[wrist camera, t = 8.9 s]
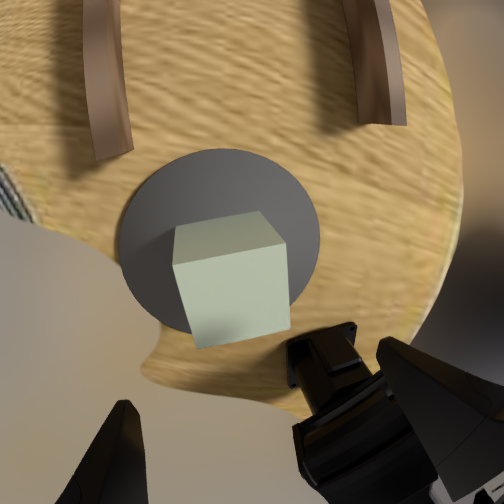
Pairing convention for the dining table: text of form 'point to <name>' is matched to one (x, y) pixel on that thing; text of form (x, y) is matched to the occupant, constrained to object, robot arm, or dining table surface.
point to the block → (232, 278)
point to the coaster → (206, 208)
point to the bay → (362, 48)
